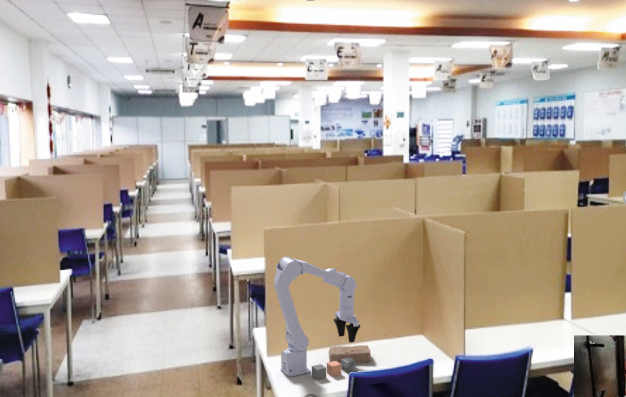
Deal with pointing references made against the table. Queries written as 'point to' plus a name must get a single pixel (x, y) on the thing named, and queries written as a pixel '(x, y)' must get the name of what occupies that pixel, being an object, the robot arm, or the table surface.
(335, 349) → the brick
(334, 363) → the terracotta block
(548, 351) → the table surface
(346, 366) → the slate block
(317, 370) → the gray block
